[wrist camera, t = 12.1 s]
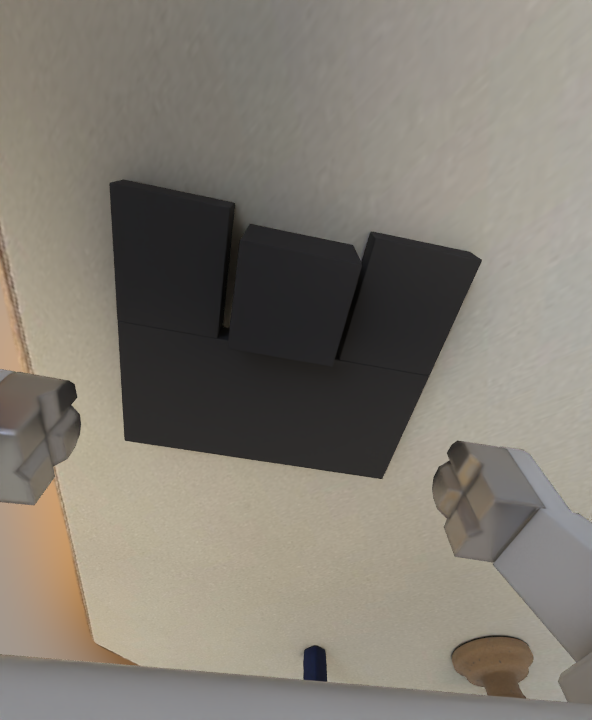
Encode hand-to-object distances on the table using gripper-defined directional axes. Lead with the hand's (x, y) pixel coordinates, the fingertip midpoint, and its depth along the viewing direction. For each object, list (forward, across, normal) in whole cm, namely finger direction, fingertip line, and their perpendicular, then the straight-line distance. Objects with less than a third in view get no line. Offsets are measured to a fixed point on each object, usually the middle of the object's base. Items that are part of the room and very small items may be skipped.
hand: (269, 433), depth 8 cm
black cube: (+14, -1, +2) cm, 14 cm away
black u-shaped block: (+14, 0, +6) cm, 15 cm away
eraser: (+13, -12, +45) cm, 48 cm away
